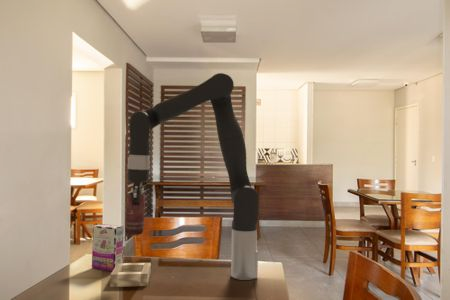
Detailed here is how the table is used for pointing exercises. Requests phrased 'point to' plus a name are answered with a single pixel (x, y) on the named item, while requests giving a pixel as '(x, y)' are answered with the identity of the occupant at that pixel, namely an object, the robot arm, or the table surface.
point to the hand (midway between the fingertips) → (136, 217)
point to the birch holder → (130, 274)
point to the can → (135, 216)
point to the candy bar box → (107, 246)
